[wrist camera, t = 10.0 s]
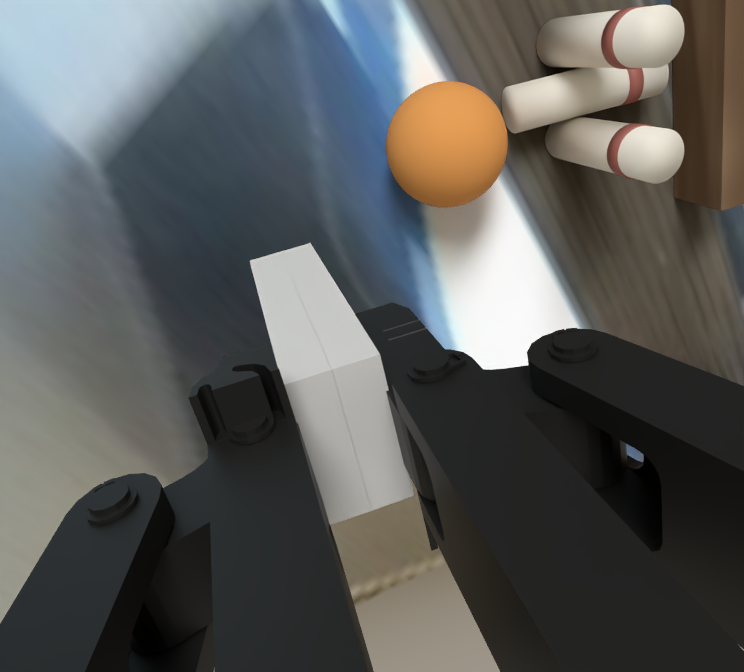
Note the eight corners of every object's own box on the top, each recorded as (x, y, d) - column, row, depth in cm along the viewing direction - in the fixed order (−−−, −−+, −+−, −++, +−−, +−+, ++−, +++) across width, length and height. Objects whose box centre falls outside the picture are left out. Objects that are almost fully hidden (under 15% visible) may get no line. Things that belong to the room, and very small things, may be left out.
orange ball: (519, 182, 35) (414, 187, 37) (514, 64, 32) (400, 77, 34) (498, 224, 30) (379, 226, 32) (490, 89, 27) (359, 102, 29)
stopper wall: (674, 197, 40) (721, 210, 36) (670, -105, 33) (728, -126, 29) (702, 189, 40) (752, 201, 36) (704, -113, 33) (766, -135, 29)
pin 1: (537, 73, 35) (633, 75, 27) (532, 22, 34) (631, 11, 26) (579, 61, 35) (685, 61, 27) (575, 11, 34) (685, -3, 26)
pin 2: (546, 164, 37) (637, 191, 29) (542, 120, 36) (635, 135, 28) (585, 153, 37) (685, 176, 30) (582, 109, 36) (685, 121, 28)
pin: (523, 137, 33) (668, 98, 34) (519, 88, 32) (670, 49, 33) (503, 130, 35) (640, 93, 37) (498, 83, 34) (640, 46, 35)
